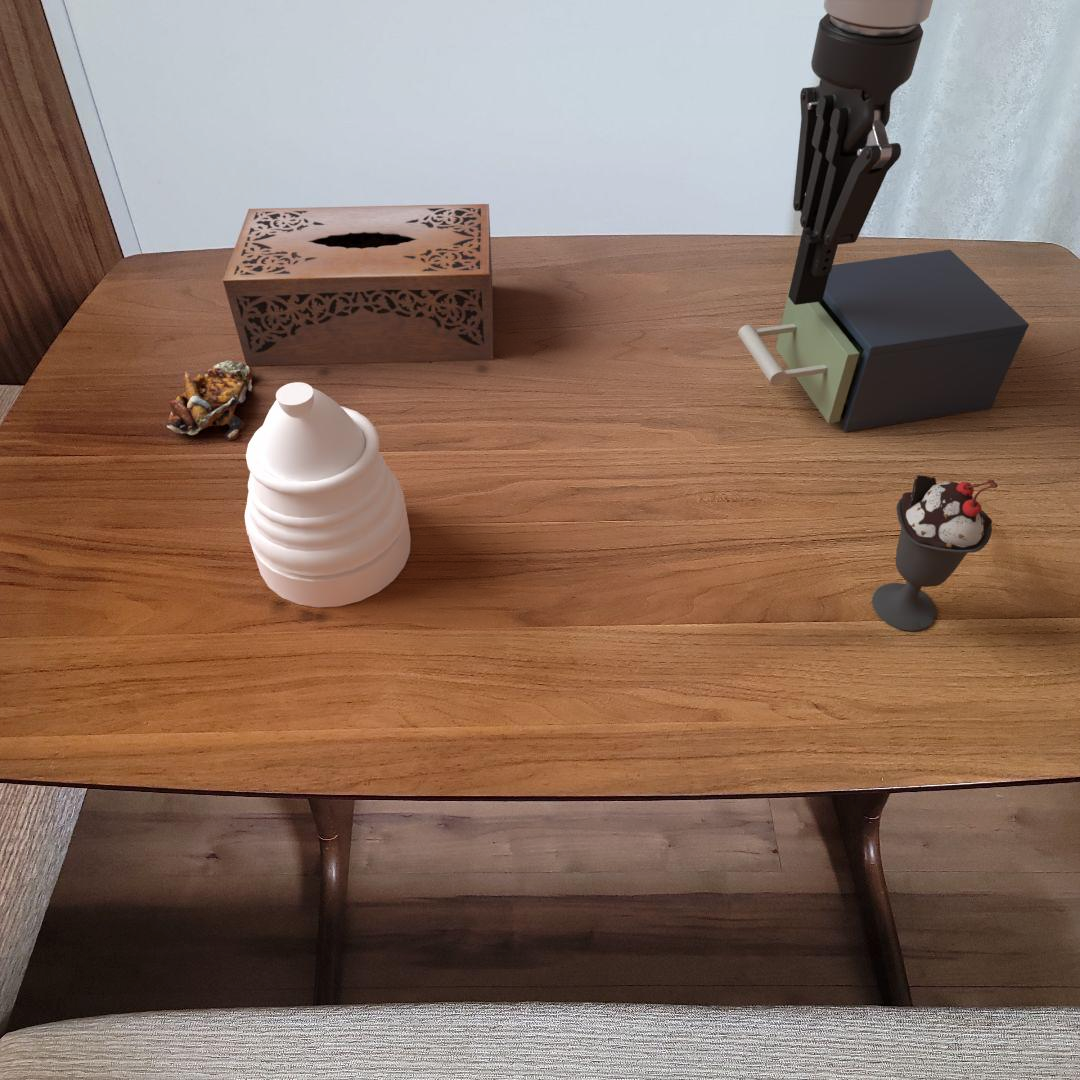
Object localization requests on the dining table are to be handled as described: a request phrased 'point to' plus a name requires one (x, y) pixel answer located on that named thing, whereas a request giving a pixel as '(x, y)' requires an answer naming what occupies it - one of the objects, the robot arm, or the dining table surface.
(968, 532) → the sundae
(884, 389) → the cabinet
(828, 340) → the drawer
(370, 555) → the honey pot
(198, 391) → the dish of fried food
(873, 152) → the robot arm
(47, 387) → the dining table surface
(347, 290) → the tissue box cover
